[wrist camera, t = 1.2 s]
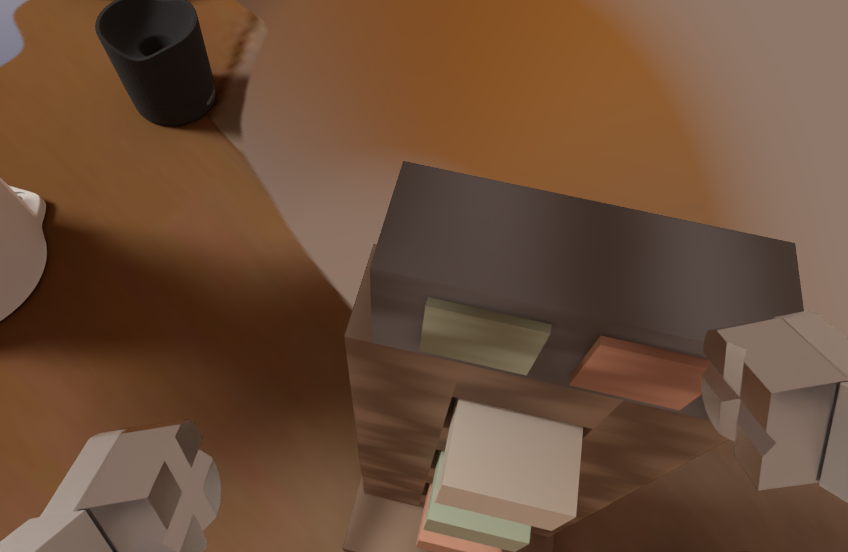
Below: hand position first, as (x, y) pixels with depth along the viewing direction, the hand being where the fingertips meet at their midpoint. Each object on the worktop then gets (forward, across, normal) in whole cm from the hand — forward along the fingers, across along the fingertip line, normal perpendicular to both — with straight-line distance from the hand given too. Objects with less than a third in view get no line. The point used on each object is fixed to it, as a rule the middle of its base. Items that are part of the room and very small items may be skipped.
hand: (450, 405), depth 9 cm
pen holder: (+62, +26, +4) cm, 67 cm away
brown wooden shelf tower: (+25, +2, +31) cm, 40 cm away
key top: (+12, -1, +13) cm, 18 cm away
